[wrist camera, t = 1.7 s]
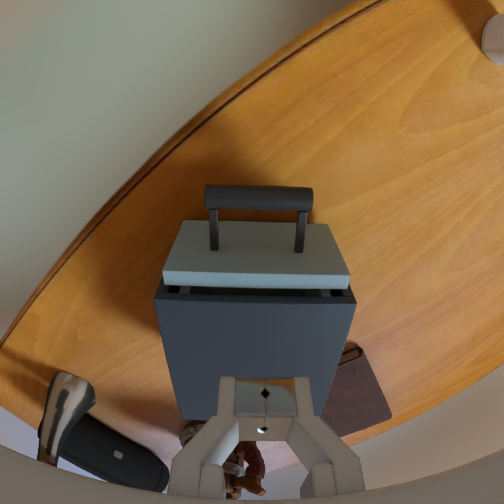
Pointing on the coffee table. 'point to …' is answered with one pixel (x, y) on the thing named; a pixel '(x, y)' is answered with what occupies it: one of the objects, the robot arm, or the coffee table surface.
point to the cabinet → (250, 341)
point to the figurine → (62, 413)
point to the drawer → (256, 248)
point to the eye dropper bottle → (494, 39)
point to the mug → (235, 464)
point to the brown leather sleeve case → (354, 396)
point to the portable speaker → (112, 457)
